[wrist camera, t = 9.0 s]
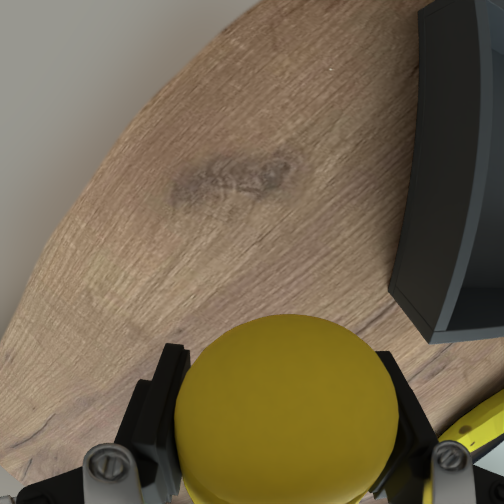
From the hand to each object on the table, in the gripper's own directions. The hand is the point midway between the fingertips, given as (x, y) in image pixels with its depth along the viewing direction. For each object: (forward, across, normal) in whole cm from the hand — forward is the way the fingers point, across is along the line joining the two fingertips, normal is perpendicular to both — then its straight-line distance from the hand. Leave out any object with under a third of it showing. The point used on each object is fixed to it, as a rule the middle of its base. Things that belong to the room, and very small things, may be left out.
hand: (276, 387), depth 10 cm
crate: (+9, -16, -8) cm, 20 cm away
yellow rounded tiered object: (+1, 0, 0) cm, 1 cm away
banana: (+9, -28, +18) cm, 34 cm away
